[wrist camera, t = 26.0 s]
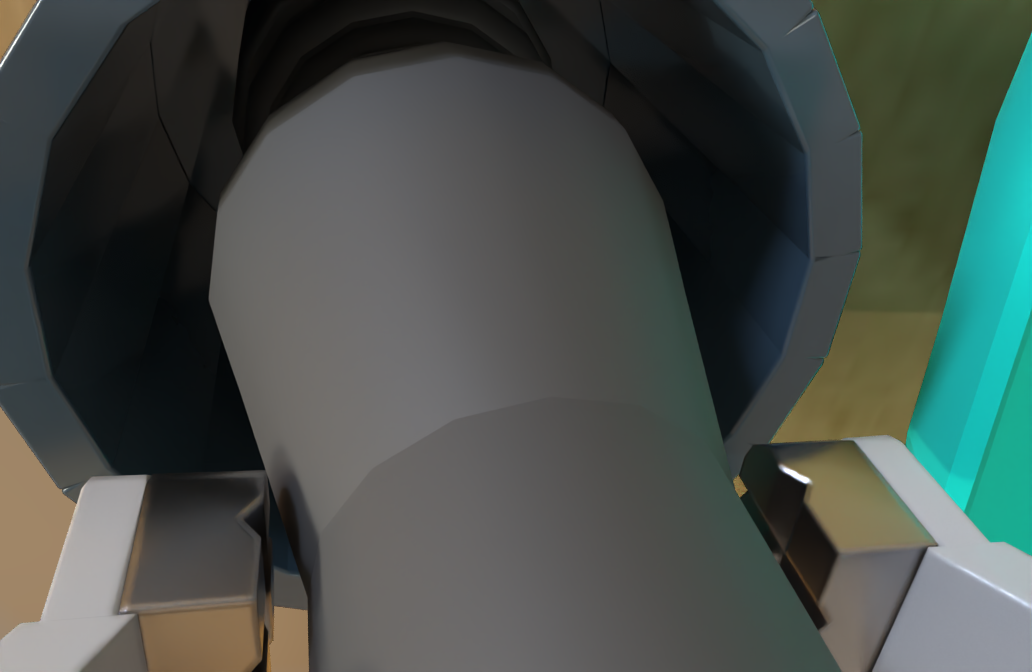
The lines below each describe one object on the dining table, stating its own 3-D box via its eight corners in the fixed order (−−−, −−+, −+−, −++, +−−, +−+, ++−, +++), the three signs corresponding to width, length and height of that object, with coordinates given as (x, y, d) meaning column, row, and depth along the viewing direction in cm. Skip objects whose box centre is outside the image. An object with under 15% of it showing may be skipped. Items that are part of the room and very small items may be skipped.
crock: (150, 303, 22) (53, 651, 14) (75, -249, 16) (-185, -255, 8) (596, 296, 25) (754, 586, 16) (672, -185, 19) (991, -138, 10)
